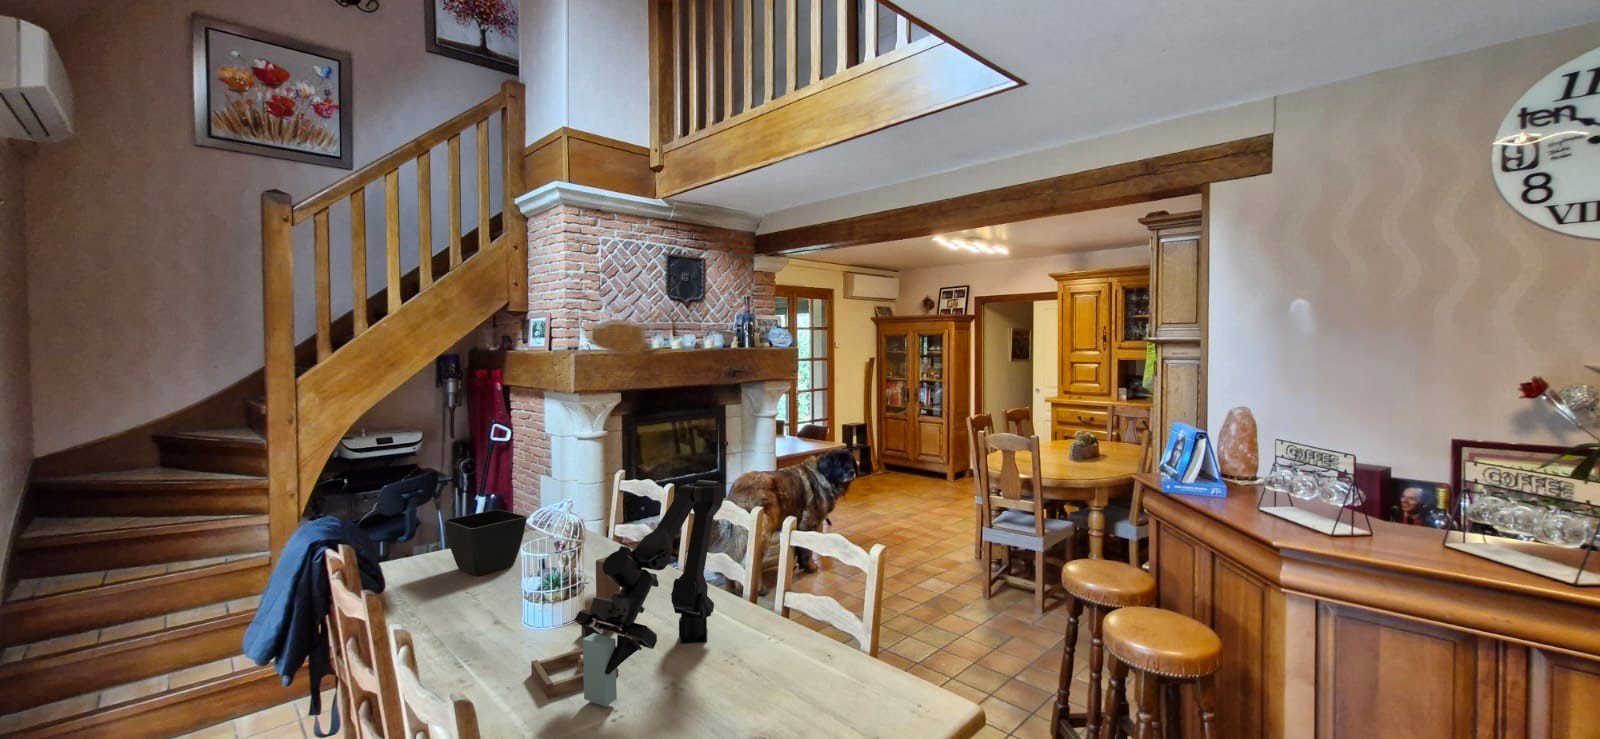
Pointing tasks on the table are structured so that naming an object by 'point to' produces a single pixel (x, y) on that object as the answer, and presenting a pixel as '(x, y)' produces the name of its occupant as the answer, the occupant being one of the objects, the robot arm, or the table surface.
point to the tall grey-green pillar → (598, 669)
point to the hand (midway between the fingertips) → (594, 670)
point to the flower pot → (485, 540)
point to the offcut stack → (580, 664)
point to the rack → (552, 664)
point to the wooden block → (603, 586)
